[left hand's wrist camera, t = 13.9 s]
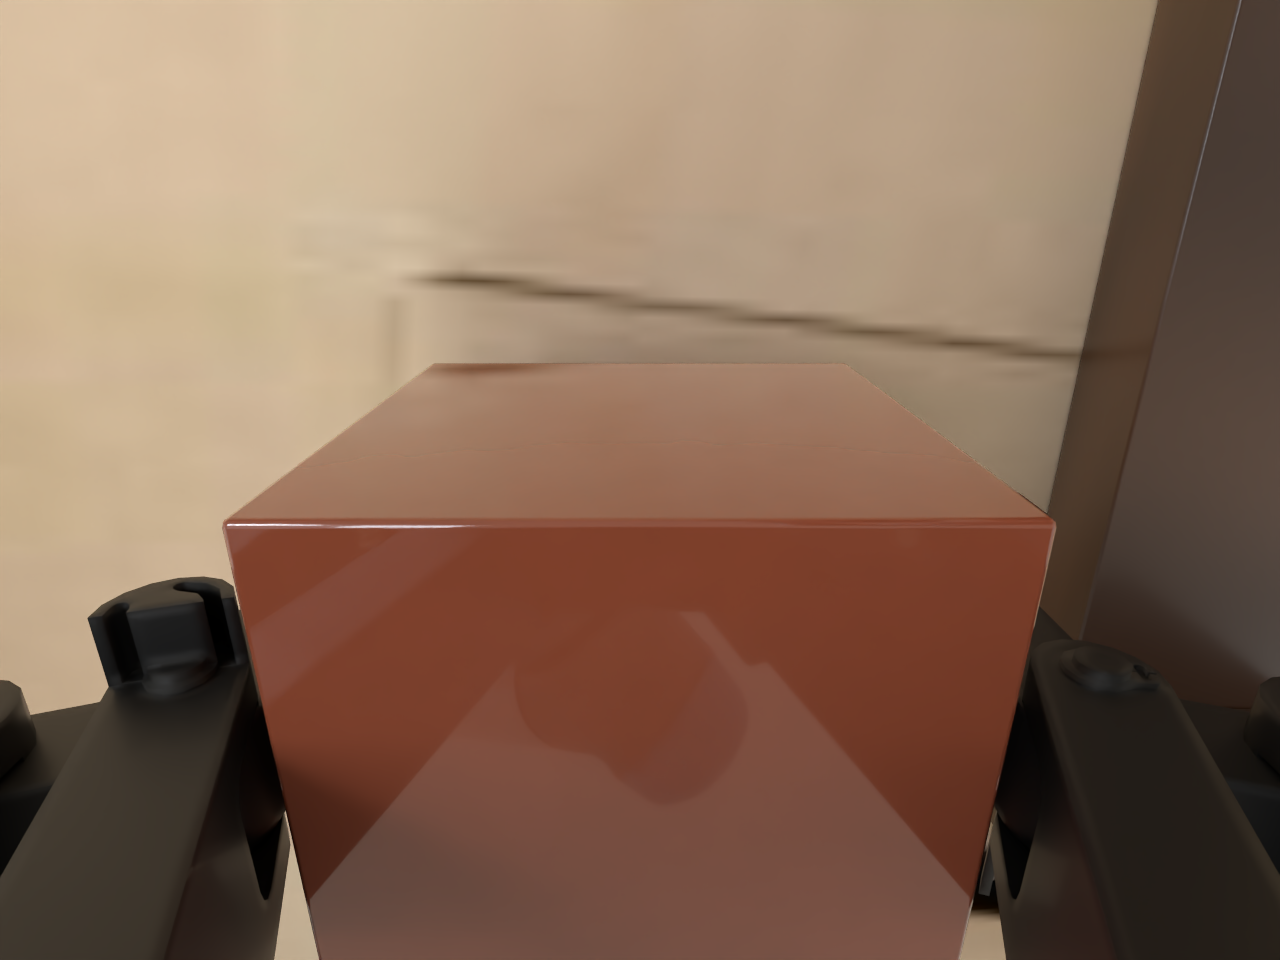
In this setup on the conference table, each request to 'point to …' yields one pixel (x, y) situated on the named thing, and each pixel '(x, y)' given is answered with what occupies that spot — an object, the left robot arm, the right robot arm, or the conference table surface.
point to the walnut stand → (1184, 374)
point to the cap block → (639, 665)
